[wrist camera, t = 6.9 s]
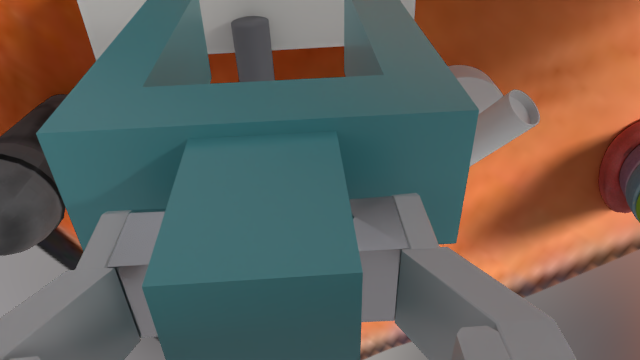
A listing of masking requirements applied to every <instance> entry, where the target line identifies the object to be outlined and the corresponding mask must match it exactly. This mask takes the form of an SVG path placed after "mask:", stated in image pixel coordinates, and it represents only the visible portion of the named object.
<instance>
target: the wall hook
mask: <svg viewBox="0 0 640 360" xmlns="http://www.w3.org/2000/svg"><path fill="white" fill-rule="evenodd" d="M448 67H449V69H450V70H451V72H452V73H453V74H454V76H455V77H456V79H457V80H458V81H459V83H460V84H461V85H462V87H463V88H464V90H465V91H466V92H467V94H468V95H469V96H470V98H471V99H472V101H473V102H474V103H475V105H476V106H477V108H478V109H479V114H478V120H477V126H476V132H475V137H474V143H473V149H472V155H471V160H470V166H471V165H473V164H475V163H476V162H478V161H480V160H481V159H483V158H484V157H486V156H488V155H489V154H491V153H492V152H494V151H496V150H497V149H499V148H500V147H502V146H504V145H505V144H507V143H508V142H510V141H512V140H513V139H515V138H516V137H518V136H520V135H521V134H523V133H524V132H526V131H528V130H529V129H531V128H532V127H534V126H536V125H537V124H538V123H539V121H540V115H539V111H538V109H537V107H536V105H535V103H534V102H533V101H532V99H531V98H530V97H529V96H528V95H527V94H525V93H524V92H522V91H520V90H516V89H515V90H512V91H510V92H509V93H507V94H506V95H505V96H503V94H502V92H501V91H500V90H499V89H498V87H497V86H496V85H495V84H494V82H493V81H492V80H491V79H490V77H489V76H488V75H486V74H485V73H484V72H482V71H481V70H479V69H477V68H474V67H471V66H466V65H452V66H448ZM470 166H469V167H470Z"/></svg>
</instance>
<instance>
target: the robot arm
mask: <svg viewBox="0 0 640 360" xmlns="http://www.w3.org/2000/svg"><path fill="white" fill-rule="evenodd" d="M349 201H350V206H351V212H352V217H353V223H354V228H355V233H356V239H357V244H358V249H359V255H360V260H361V266H362V271H363V282H362V314H361V322H373V321H395V323H396V324H397V325H398V327H399V328H400V329H401V330H402V331H403V332H404V333H405V334H406V335H407V336H408V337H409V339H410V340H411V341H412V342H413V343H414V344H415V345H416V346H417V347H418V348H419V350H421V352H422V353H423V354H424V355H425V356H426V357H427V358H428V359H429V360H577V359H576V357H575V356H574V354H573V352H572V350H571V348H570V347H569V345H568V343H567V341H566V340H565V338H564V336H563V334H562V332H561V331H560V329H559V327H558V325H557V324H556V322H555V320H554V319H553V318H551V317H550V316H548V315H547V314H545V313H544V312H542V311H541V310H540V309H538V308H537V307H535V306H534V305H532V304H531V303H529V302H528V301H526V300H525V299H523V298H522V297H520V296H519V295H517V294H516V293H514V292H513V291H512V290H510V289H509V288H507V287H506V286H504V285H503V284H501V283H500V282H498V281H497V280H495V279H494V278H492V277H491V276H489V275H488V274H487V273H485V272H484V271H482V270H481V269H479V268H478V267H476V266H475V265H473V264H472V263H470V262H469V261H467V260H466V259H464V258H463V257H461V256H460V255H459V254H457V253H456V252H454V251H453V250H451V249H450V248H448V247H440V246H439V244H438V241H437V239H436V236H435V234H434V231H433V229H432V226H431V223H430V221H429V218H428V216H427V213H426V211H425V208H424V206H423V203H422V200H421V198H420V195H418V194H417V193H409V194H398V195H392V196H382V197H367V198H351V199H349ZM165 211H166V209H142V210H122V211H107V212H105V213H104V214H102V215H101V217H100V219H99V221H98V223H97V225H96V227H95V229H94V232H93V234H92V236H91V238H90V240H89V242H88V244H87V246H86V248H85V250H84V252H83V254H82V256H81V258H80V260H79V263H78V265H77V267H76V269H75V270H70V271H66V272H65V273H63V274H61V275H60V276H59V277H57V278H56V279H54V280H53V281H52V282H50V283H49V284H47V285H46V286H45V287H43V288H42V289H41V290H39V291H38V292H36V293H35V294H33V295H32V296H31V297H29V298H28V299H26V300H25V301H23V302H22V303H21V304H19V305H18V306H16V307H15V308H14V309H13V310H11V311H10V312H8V313H7V314H5V315H4V316H3V317H1V318H0V360H124V359H125V358H126V357H127V356H128V355H129V353H130V352H131V351H132V350H133V349H134V347H136V345H137V344H138V343H139V342H140V340H141V339H140V338H145V337H155V336H158V335H157V332H156V329H155V326H154V323H153V320H152V317H151V314H150V311H149V308H148V305H147V302H146V299H145V296H144V293H143V290H142V284H143V281H144V278H145V275H146V271H147V268H148V265H149V262H150V259H151V255H152V252H153V249H154V246H155V243H156V239H157V236H158V233H159V230H160V227H161V223H162V220H163V217H164V214H165Z"/></svg>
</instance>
